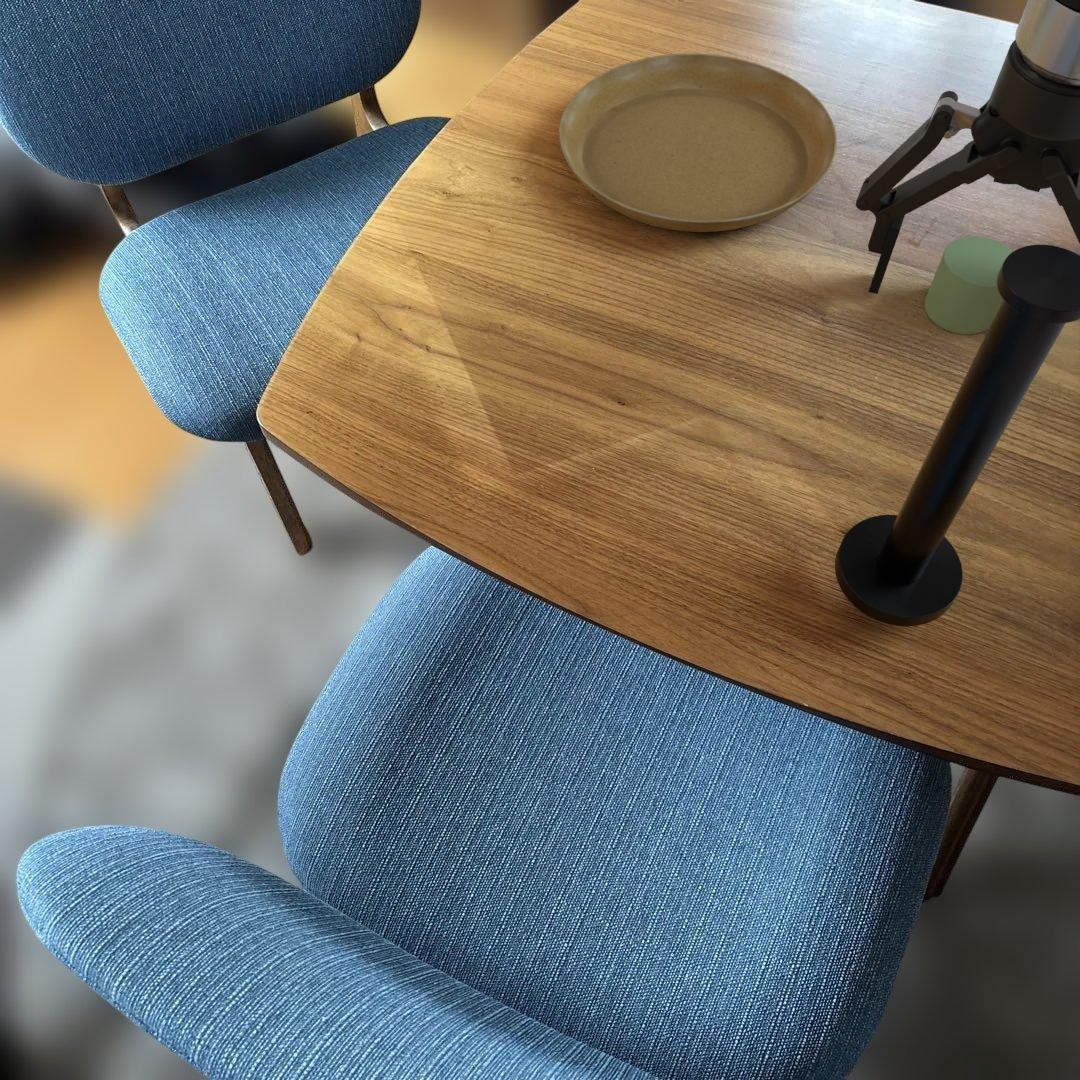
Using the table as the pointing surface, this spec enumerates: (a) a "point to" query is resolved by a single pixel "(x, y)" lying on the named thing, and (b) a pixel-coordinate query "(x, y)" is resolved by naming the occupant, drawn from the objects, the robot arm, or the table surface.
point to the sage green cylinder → (967, 285)
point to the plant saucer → (697, 141)
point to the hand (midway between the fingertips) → (961, 304)
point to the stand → (961, 448)
